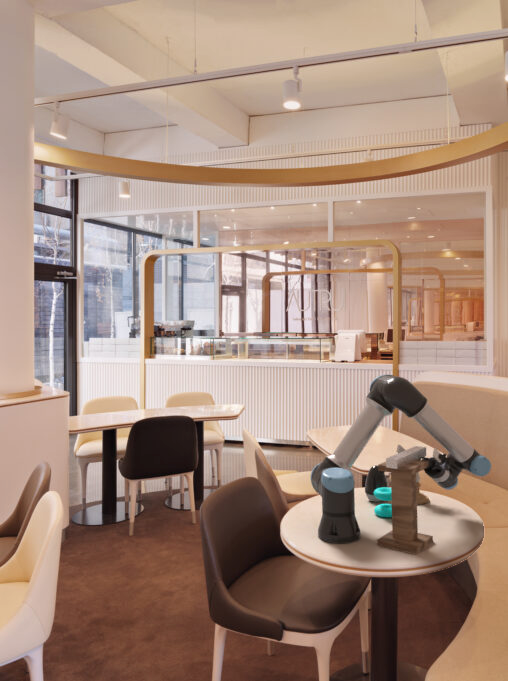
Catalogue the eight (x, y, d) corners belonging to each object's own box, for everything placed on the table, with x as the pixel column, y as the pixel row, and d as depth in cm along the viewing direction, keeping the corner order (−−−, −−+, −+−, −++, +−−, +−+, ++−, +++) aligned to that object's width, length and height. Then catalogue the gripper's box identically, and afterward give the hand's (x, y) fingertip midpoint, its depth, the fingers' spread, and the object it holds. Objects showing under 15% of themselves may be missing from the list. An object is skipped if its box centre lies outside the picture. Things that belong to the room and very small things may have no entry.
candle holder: (408, 506, 240) (407, 458, 239) (394, 497, 252) (393, 452, 251) (434, 503, 243) (433, 455, 242) (419, 495, 255) (418, 450, 254)
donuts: (369, 487, 233) (391, 485, 235) (370, 512, 233) (392, 509, 235) (380, 494, 223) (403, 491, 226) (381, 519, 223) (404, 517, 226)
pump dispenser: (379, 505, 241) (378, 469, 241) (360, 500, 249) (359, 465, 249) (394, 500, 248) (393, 465, 248) (374, 495, 256) (373, 461, 256)
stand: (416, 554, 188) (414, 469, 188) (377, 545, 197) (375, 464, 197) (432, 541, 199) (431, 461, 199) (395, 533, 208) (393, 456, 208)
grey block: (397, 468, 189) (397, 459, 189) (386, 467, 192) (385, 458, 192) (426, 455, 208) (426, 447, 208) (415, 454, 211) (415, 446, 210)
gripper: (467, 483, 210) (448, 464, 196) (403, 474, 226) (381, 456, 212) (470, 464, 213) (452, 443, 199) (407, 456, 229) (385, 436, 215)
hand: (415, 450), depth 205 cm, fingers open, 13 cm apart
